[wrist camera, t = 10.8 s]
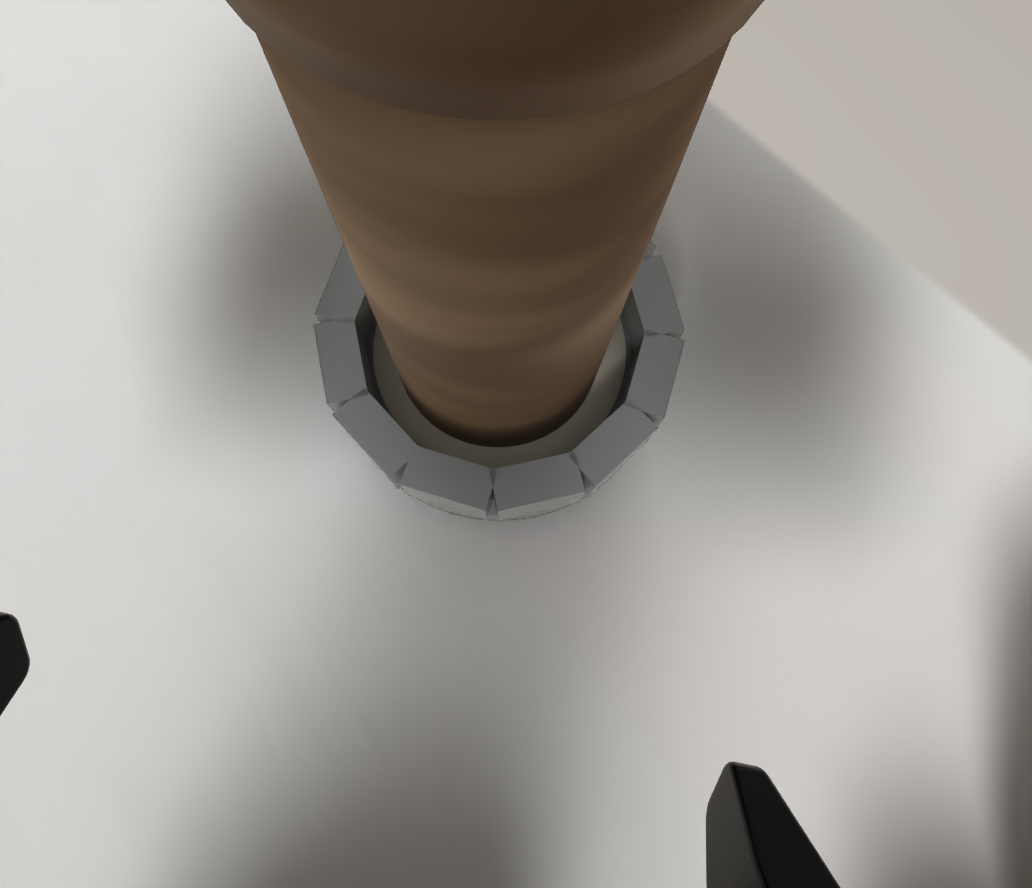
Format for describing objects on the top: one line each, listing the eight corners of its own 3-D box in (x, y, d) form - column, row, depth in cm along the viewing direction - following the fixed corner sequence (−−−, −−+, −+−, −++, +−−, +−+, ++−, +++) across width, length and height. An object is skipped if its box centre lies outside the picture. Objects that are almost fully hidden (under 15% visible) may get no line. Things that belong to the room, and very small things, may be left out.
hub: (490, 591, 18) (488, 587, 15) (275, 353, 19) (243, 315, 17) (722, 372, 20) (754, 337, 17) (508, 168, 21) (509, 110, 19)
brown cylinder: (447, 493, 17) (304, 161, 5) (355, 305, 19) (41, -364, 6) (644, 395, 18) (982, -118, 5) (543, 221, 19) (625, -532, 7)
